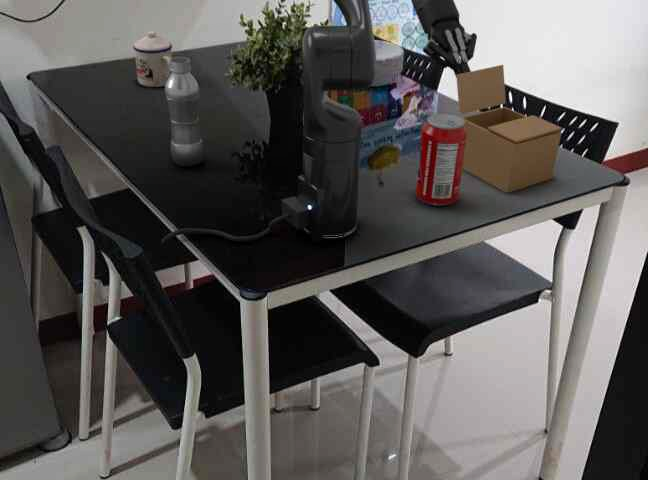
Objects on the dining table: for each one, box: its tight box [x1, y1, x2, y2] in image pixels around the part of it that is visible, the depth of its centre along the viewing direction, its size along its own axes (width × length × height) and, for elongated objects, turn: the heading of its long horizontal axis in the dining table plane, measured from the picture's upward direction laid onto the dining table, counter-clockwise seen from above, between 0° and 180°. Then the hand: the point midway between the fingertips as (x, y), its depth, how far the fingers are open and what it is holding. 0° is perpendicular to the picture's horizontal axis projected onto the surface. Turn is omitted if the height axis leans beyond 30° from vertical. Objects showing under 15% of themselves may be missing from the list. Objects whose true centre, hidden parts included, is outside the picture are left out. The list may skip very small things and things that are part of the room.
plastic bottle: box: [164, 56, 205, 167], centre depth 147 cm, size 6×7×20 cm
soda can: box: [415, 113, 467, 207], centre depth 138 cm, size 8×8×15 cm
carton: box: [461, 106, 563, 194], centre depth 150 cm, size 15×12×10 cm
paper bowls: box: [370, 39, 405, 88], centre depth 192 cm, size 15×15×8 cm
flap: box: [455, 64, 507, 115], centre depth 151 cm, size 7×12×1 cm
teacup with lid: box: [132, 31, 173, 88], centre depth 185 cm, size 12×9×12 cm
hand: (467, 83), depth 153 cm, fingers closed
